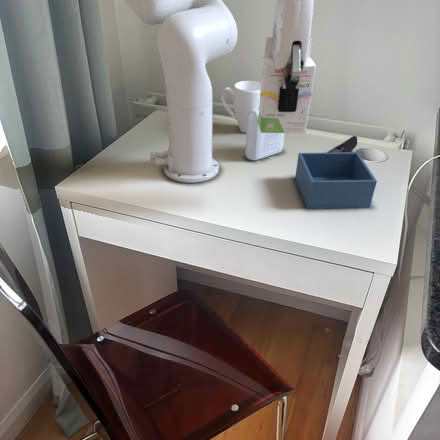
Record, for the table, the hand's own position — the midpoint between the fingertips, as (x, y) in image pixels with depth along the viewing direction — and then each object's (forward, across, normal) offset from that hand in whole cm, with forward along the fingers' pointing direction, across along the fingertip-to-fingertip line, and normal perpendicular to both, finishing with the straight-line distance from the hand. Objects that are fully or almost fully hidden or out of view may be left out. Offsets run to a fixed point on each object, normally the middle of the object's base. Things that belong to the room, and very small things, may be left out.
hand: (284, 104), depth 82 cm
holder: (+20, -4, +13) cm, 24 cm away
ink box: (+5, 0, 0) cm, 5 cm away
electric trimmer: (+20, -21, +19) cm, 34 cm away
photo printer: (+20, -22, +1) cm, 30 cm away
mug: (+20, -38, -4) cm, 43 cm away
